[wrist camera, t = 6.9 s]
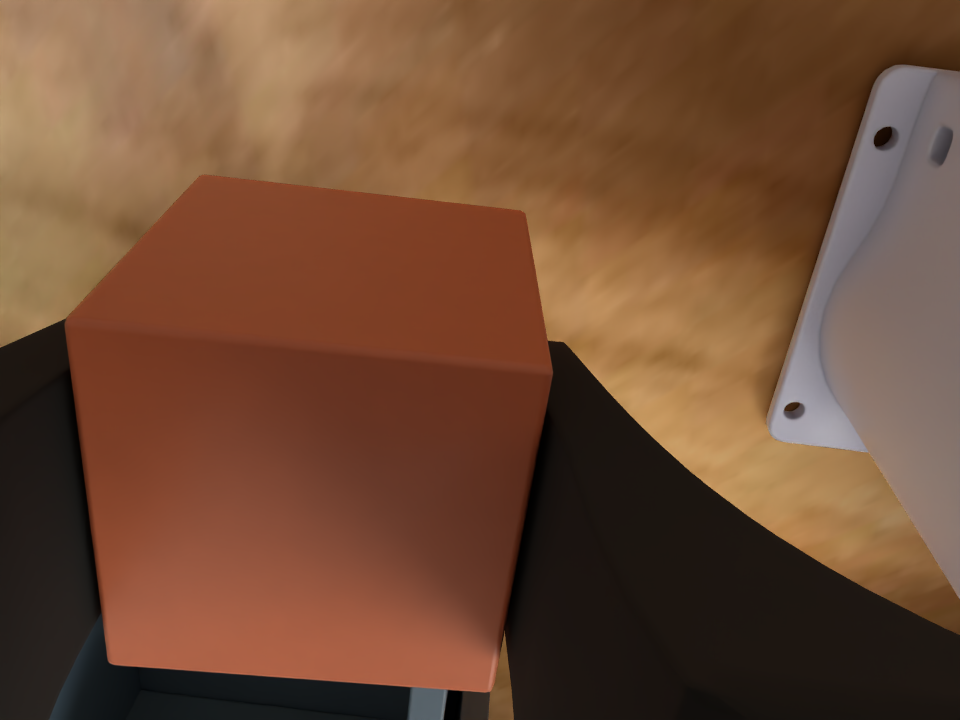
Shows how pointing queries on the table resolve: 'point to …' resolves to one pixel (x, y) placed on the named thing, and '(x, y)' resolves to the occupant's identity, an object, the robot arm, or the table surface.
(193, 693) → the drawer
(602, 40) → the table surface
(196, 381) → the block
